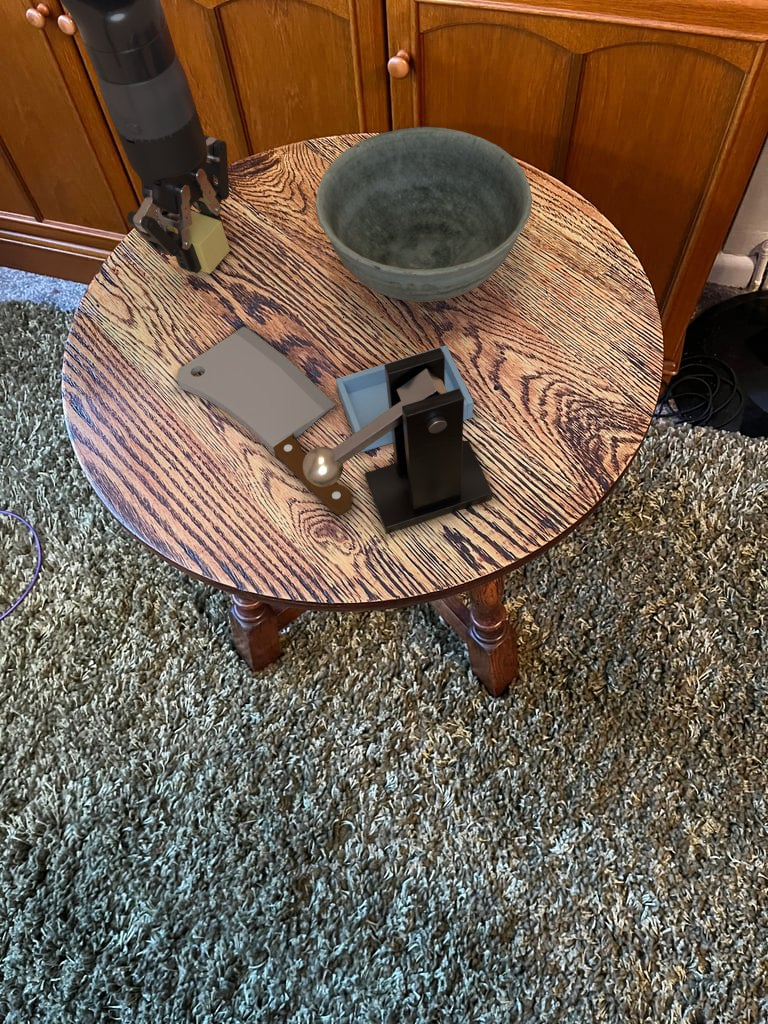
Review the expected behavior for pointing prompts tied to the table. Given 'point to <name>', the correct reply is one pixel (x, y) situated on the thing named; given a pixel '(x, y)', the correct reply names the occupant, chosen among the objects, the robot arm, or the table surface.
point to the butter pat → (208, 241)
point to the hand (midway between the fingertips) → (204, 254)
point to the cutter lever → (368, 432)
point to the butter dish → (370, 398)
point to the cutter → (426, 454)
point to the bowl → (423, 211)
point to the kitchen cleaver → (264, 400)
